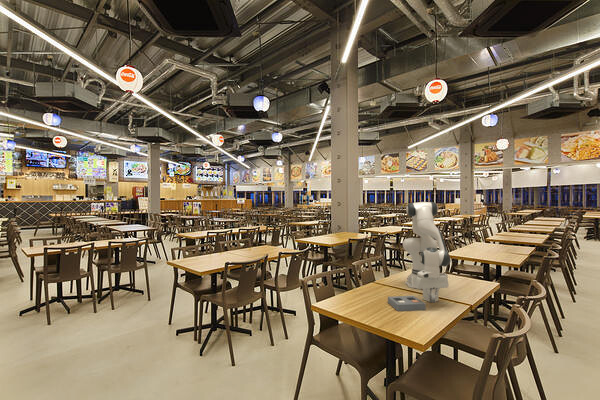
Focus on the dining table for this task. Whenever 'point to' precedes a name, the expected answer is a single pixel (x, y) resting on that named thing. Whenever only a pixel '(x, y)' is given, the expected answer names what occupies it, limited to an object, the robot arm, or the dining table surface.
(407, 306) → the socket board
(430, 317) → the dining table surface
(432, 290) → the plug
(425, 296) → the milk carton
